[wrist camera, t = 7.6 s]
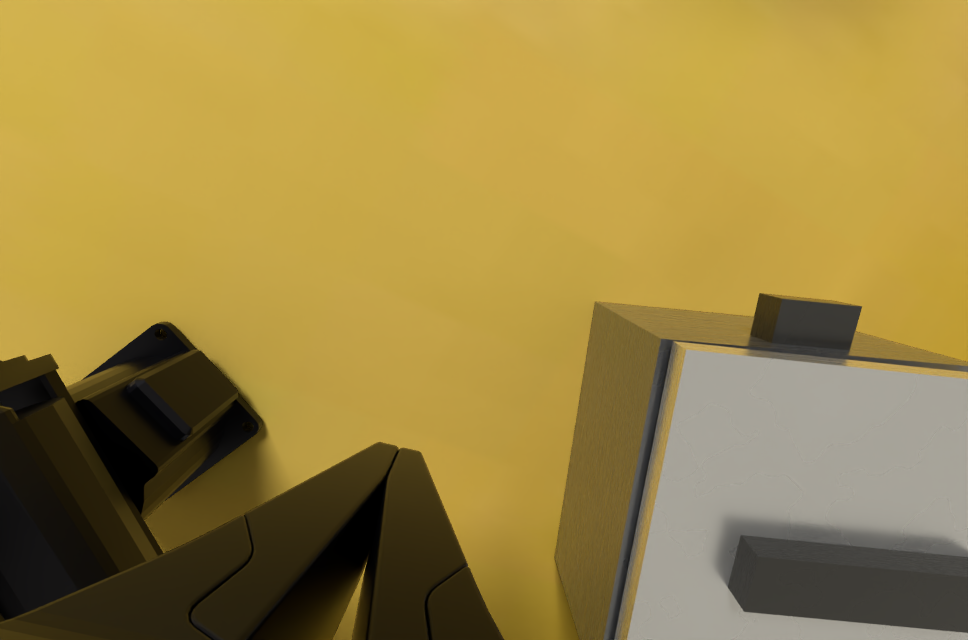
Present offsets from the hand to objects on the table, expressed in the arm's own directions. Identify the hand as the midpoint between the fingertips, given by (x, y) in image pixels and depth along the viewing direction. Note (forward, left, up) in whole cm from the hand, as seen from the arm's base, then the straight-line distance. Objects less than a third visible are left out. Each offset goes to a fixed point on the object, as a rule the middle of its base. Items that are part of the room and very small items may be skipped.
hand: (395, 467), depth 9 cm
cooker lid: (+7, -13, -5) cm, 16 cm away
